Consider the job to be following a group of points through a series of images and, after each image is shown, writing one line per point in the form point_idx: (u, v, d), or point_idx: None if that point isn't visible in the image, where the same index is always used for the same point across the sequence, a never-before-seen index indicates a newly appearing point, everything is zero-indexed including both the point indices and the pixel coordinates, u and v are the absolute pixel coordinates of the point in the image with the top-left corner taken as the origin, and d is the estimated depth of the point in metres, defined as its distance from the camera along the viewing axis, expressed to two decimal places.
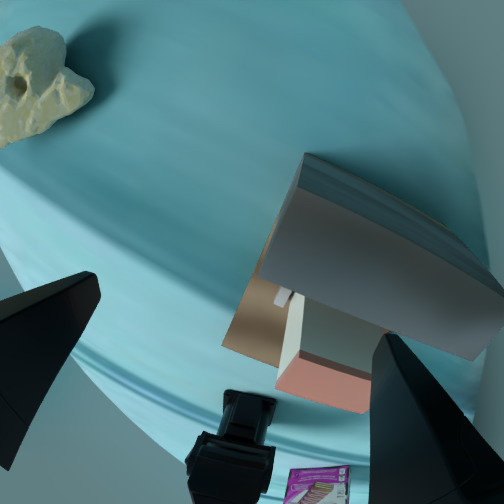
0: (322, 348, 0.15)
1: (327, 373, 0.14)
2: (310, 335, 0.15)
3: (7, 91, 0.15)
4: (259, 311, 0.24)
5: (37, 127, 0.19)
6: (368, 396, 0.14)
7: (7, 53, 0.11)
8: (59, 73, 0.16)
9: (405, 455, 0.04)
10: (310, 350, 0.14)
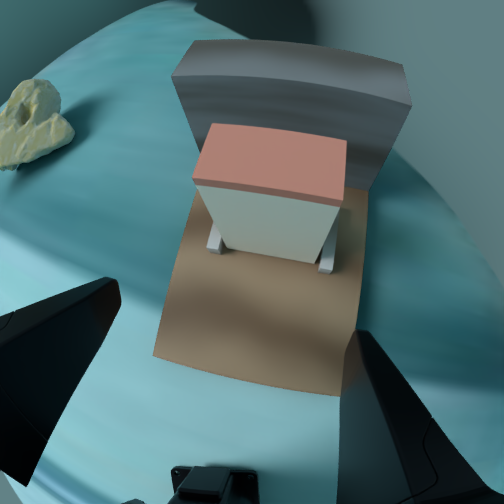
0: None
1: (250, 133, 0.12)
2: None
3: (16, 116, 0.22)
4: (195, 280, 0.20)
5: (25, 154, 0.24)
6: (324, 159, 0.11)
7: (29, 84, 0.21)
8: (55, 113, 0.25)
9: (368, 456, 0.04)
10: None
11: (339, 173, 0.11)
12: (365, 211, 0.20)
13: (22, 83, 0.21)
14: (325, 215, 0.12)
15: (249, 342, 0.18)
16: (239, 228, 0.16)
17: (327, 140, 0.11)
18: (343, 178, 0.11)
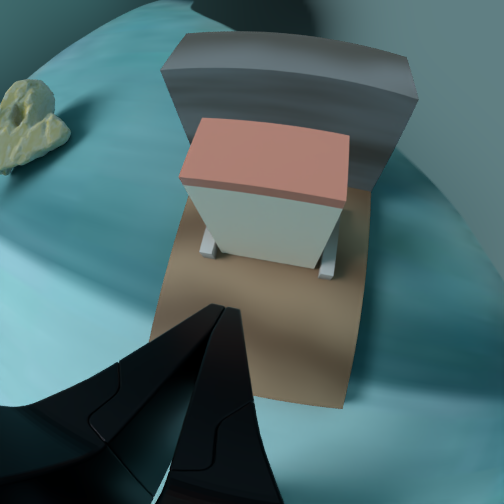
0: None
1: (243, 127, 0.11)
2: None
3: (9, 118, 0.21)
4: (187, 286, 0.19)
5: (19, 156, 0.23)
6: (325, 155, 0.10)
7: (22, 84, 0.20)
8: (49, 113, 0.23)
9: None
10: None
11: (342, 171, 0.10)
12: (368, 213, 0.19)
13: (15, 84, 0.20)
14: (326, 218, 0.11)
15: None
16: (233, 232, 0.15)
17: (327, 134, 0.10)
18: (346, 176, 0.10)
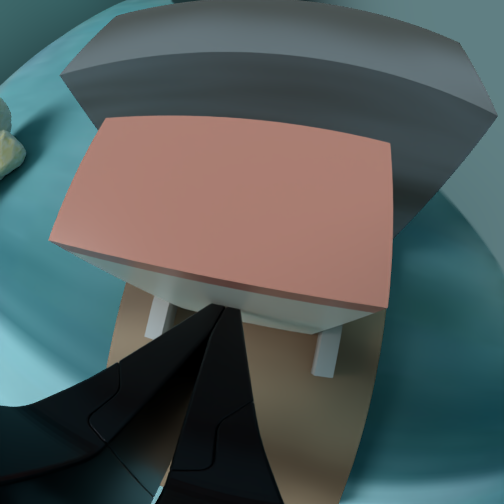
0: None
1: (170, 130, 0.05)
2: None
3: None
4: None
5: None
6: (342, 188, 0.04)
7: None
8: (2, 130, 0.17)
9: None
10: None
11: (379, 228, 0.04)
12: None
13: None
14: (336, 315, 0.05)
15: None
16: (183, 301, 0.09)
17: (346, 140, 0.05)
18: (389, 242, 0.04)
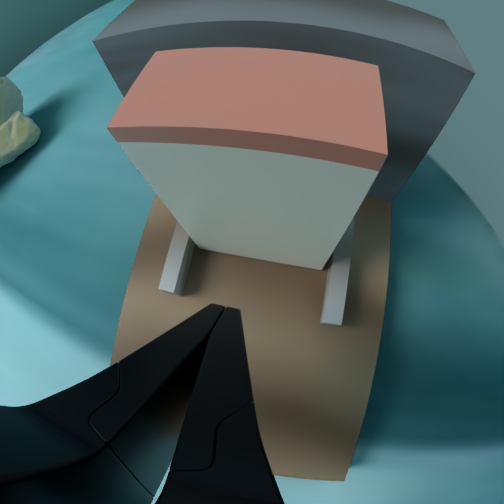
0: None
1: (213, 55, 0.06)
2: None
3: None
4: (148, 330, 0.14)
5: None
6: (344, 86, 0.05)
7: None
8: (16, 111, 0.18)
9: None
10: None
11: (374, 109, 0.05)
12: (387, 231, 0.14)
13: None
14: (348, 190, 0.06)
15: None
16: (207, 219, 0.10)
17: (345, 62, 0.06)
18: (382, 117, 0.05)
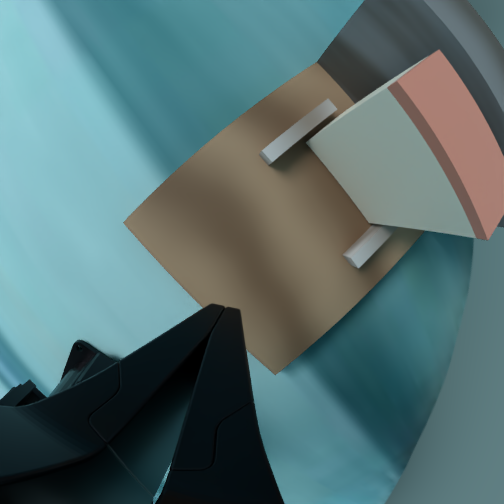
0: None
1: (466, 98, 0.07)
2: None
3: None
4: (222, 172, 0.15)
5: None
6: (499, 189, 0.07)
7: None
8: None
9: None
10: None
11: (499, 213, 0.07)
12: (418, 234, 0.17)
13: None
14: (453, 226, 0.09)
15: (233, 274, 0.16)
16: (353, 147, 0.12)
17: None
18: (498, 220, 0.07)
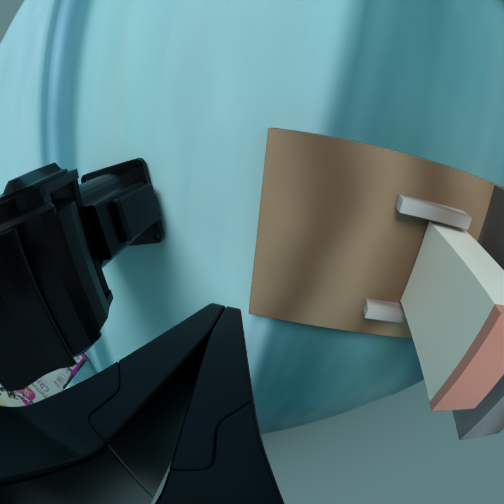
0: None
1: None
2: None
3: None
4: (366, 176, 0.15)
5: None
6: (467, 399, 0.10)
7: None
8: None
9: None
10: None
11: (452, 407, 0.10)
12: None
13: None
14: (429, 380, 0.11)
15: (298, 237, 0.18)
16: (445, 274, 0.12)
17: (481, 398, 0.09)
18: (447, 409, 0.10)
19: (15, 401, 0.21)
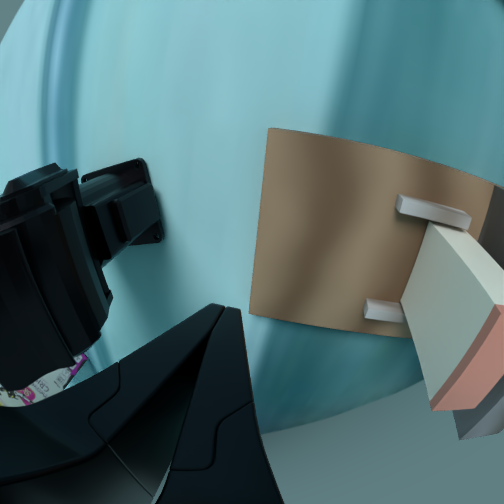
0: None
1: None
2: None
3: None
4: (366, 176, 0.15)
5: None
6: (467, 399, 0.10)
7: None
8: None
9: None
10: None
11: (452, 407, 0.10)
12: None
13: None
14: (429, 380, 0.11)
15: (298, 237, 0.18)
16: (445, 274, 0.12)
17: (481, 398, 0.09)
18: (447, 409, 0.10)
19: (15, 401, 0.21)
